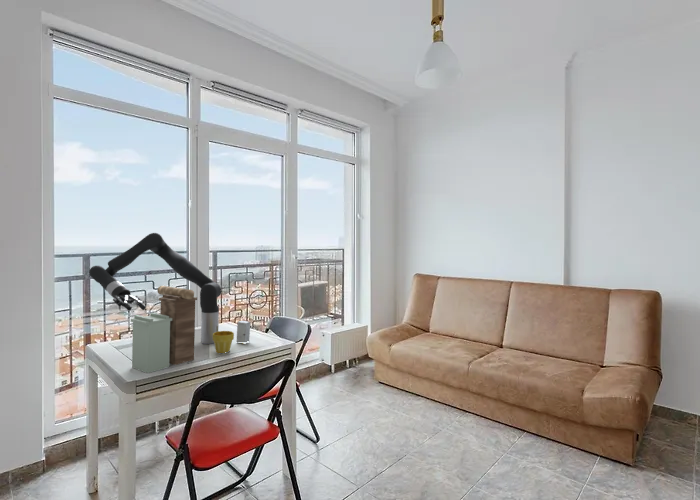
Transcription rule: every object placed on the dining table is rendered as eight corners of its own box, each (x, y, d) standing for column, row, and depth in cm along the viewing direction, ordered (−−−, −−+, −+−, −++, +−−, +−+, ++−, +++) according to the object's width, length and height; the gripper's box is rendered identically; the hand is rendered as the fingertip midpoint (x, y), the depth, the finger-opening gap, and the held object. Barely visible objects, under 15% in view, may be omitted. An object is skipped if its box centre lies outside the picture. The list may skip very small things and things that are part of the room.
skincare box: (236, 343, 214) (236, 321, 214) (241, 341, 219) (241, 320, 218) (245, 344, 212) (245, 323, 212) (250, 342, 216) (250, 321, 216)
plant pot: (227, 355, 192) (227, 336, 191) (208, 353, 194) (208, 334, 193) (236, 349, 202) (237, 331, 202) (218, 348, 204) (219, 330, 203)
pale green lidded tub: (129, 368, 169) (130, 316, 169) (155, 361, 179) (156, 312, 179) (145, 373, 163) (146, 319, 162) (171, 366, 173) (172, 315, 173)
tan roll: (156, 293, 187) (158, 285, 188) (164, 295, 191) (166, 286, 191) (184, 298, 176) (187, 289, 176) (193, 299, 179) (195, 290, 180)
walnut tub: (157, 360, 180) (158, 295, 180) (180, 354, 191) (181, 292, 190) (173, 365, 174) (174, 297, 173) (195, 359, 184) (197, 294, 184)
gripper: (109, 284, 191) (129, 302, 186) (133, 285, 204) (152, 302, 199) (102, 297, 191) (122, 315, 186) (126, 297, 205) (145, 314, 200)
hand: (137, 308), depth 193 cm, fingers open, 8 cm apart
